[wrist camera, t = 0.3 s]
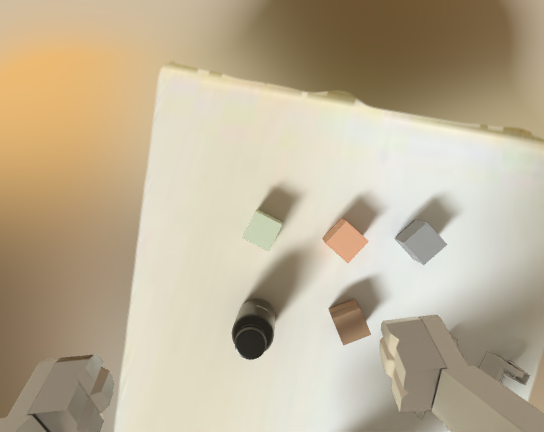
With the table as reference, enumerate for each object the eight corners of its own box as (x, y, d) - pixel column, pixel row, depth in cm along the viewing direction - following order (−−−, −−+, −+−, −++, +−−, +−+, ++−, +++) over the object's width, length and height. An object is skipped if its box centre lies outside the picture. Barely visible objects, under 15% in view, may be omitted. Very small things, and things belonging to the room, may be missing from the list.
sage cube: (282, 221, 63) (282, 225, 58) (269, 246, 64) (268, 251, 59) (257, 209, 63) (255, 211, 58) (245, 233, 63) (241, 237, 58)
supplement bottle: (273, 295, 64) (271, 321, 52) (276, 332, 65) (275, 365, 53) (236, 299, 64) (226, 324, 52) (239, 334, 65) (230, 368, 53)
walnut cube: (364, 323, 64) (371, 334, 59) (338, 333, 65) (343, 345, 60) (354, 298, 64) (360, 307, 59) (328, 308, 64) (332, 318, 59)
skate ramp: (444, 333, 65) (457, 346, 59) (510, 360, 65) (530, 375, 59) (410, 405, 66) (421, 423, 61) (476, 431, 66) (492, 452, 61)
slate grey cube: (434, 239, 63) (447, 244, 58) (412, 258, 63) (423, 264, 58) (415, 219, 62) (427, 222, 57) (394, 238, 63) (403, 242, 58)
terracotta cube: (361, 236, 63) (368, 241, 58) (342, 257, 63) (347, 263, 58) (341, 218, 63) (346, 220, 58) (322, 238, 63) (325, 243, 58)
